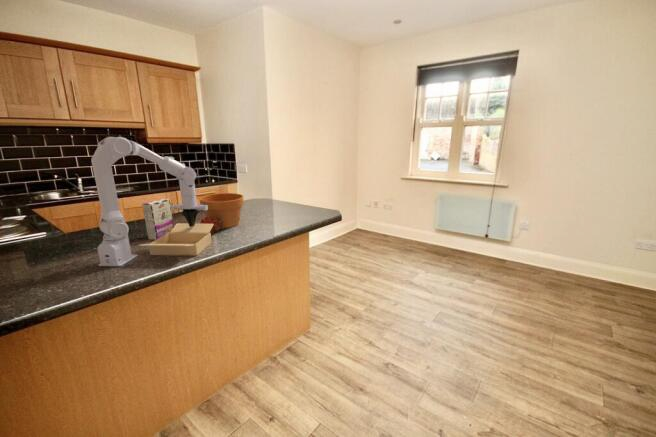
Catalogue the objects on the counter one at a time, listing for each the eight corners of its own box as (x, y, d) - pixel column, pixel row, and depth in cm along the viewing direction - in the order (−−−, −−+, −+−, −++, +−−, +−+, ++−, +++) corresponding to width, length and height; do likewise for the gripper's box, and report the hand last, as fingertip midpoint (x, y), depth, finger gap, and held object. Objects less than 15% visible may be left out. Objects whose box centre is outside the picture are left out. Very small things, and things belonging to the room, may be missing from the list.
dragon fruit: (225, 233, 141) (200, 241, 134) (218, 220, 144) (194, 228, 138) (226, 222, 135) (199, 230, 128) (218, 209, 138) (192, 217, 131)
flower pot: (237, 231, 139) (235, 201, 135) (194, 230, 139) (191, 200, 135) (250, 219, 159) (248, 193, 155) (212, 218, 160) (209, 192, 156)
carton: (197, 255, 110) (195, 244, 109) (150, 255, 110) (148, 244, 108) (211, 242, 123) (210, 232, 122) (169, 242, 123) (168, 232, 122)
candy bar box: (166, 232, 137) (161, 198, 132) (175, 232, 136) (170, 198, 131) (147, 239, 126) (141, 203, 122) (157, 240, 125) (151, 204, 121)
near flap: (193, 244, 108) (193, 245, 108) (150, 243, 108) (150, 245, 108) (185, 245, 102) (185, 246, 102) (139, 244, 102) (139, 245, 102)
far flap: (170, 232, 122) (170, 232, 122) (208, 232, 122) (209, 233, 122) (176, 223, 127) (177, 224, 127) (213, 223, 127) (213, 224, 127)
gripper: (209, 193, 125) (212, 223, 128) (176, 193, 124) (180, 223, 128) (202, 196, 118) (205, 228, 121) (167, 196, 118) (171, 227, 121)
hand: (192, 226), depth 124 cm, fingers closed
